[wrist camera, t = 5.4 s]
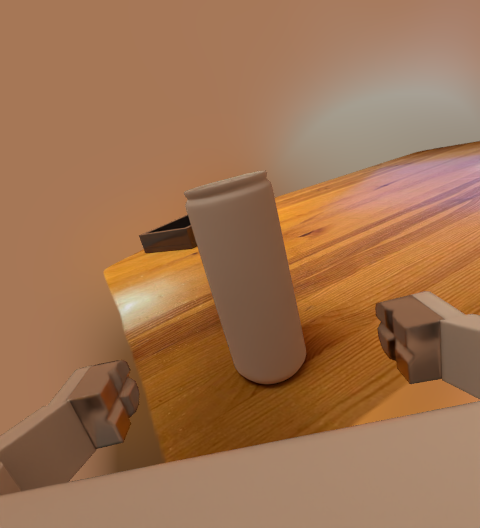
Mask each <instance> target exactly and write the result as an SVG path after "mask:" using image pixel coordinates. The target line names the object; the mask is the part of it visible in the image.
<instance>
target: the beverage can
mask: <svg viewBox="0 0 480 528" xmlns="http://www.w3.org/2000/svg"><path fill="white" fill-rule="evenodd" d="M266 175H267V172H266V171H258V172H254V173H249V174H245V175H241V176H237V177H233V178H229V179H225V180H221V181H217V182H214V183H210V184H207V185H204V186H200V187H197V188H194V189H190V190H187V191H185V192H184V195H185V196H186V197H187V199H188V200H187V202H186V210H187V213H188V217H189V220H190V223H191V226H192V230H193V233H194V236H195V240H196V243H197V246H198V249H199V253H200V256H201V259H202V262H203V266H204V269H205V272H206V275H207V279H208V282H209V285H210V288H211V292H212V295H213V298H214V301H215V305H216V308H217V311H218V314H219V318H220V321H221V324H222V327H223V330H224V334H225V337H226V340H227V343H228V346H229V350H230V353H231V356H232V359H233V362H234V365H235V368H236V369H237V371H238V372H239V373H240V374H241V375H242V376H244V377H245V378H247V379H249V380H251V381H253V382H256V383H260V384H275V383H278V382H282V381H284V380H286V379H288V378H290V377H291V376H293V375H294V374H295V373H296V372H297V371H298V370H299V368H300V367H301V365H302V364H303V363H304V360H305V357H306V347H305V342H304V338H303V333H302V328H301V323H300V318H299V314H298V309H297V304H296V299H295V294H294V290H293V285H292V280H291V275H290V270H289V266H288V261H287V256H286V251H285V246H284V242H283V237H282V232H281V227H280V222H279V217H278V213H277V208H276V203H275V198H274V193H273V189H272V185H271V182H270V181H269V180H267V179H266Z"/></svg>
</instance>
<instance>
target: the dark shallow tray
mask: <svg viewBox="0 0 480 528" xmlns="http://www.w3.org/2000/svg"><path fill="white" fill-rule="evenodd" d="M139 237H140V240H141V242H142V245H143V248H144V251H145V253H152V252H162V251H172V250H182V249H192V248H194V247H196V246H197V243H196V240H195V236H194V233H193V230H192V226H191V223H190V220H189V217H188V215H185V216H183V217H181V218H178V219H176V220H174V221H171V222H169V223H167V224H164V225H162V226H160V227H157V228H155V229H153V230H151V231H148V232H146V233H144V234H141V235H139Z"/></svg>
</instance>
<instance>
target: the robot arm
mask: <svg viewBox="0 0 480 528" xmlns="http://www.w3.org/2000/svg"><path fill="white" fill-rule="evenodd" d="M375 310H376V316H377V318H378V319H379V320H380V321H381V323H380V325H379V327H378V328H377V329H378V336H379V340H380V343H381V346H382V348H383V350H384V352H385V353H386V355H387V356H388V357H389V358H390V359H392V360H395V361H396V362H397V369H398V370H399V371H400V372H401V374H402V375H403V376H404V377H405V379H406V380H407V381H408V382H409V384H414V383H420V382H425V381H431V380H437V379H442V380H443V381H445V382H447V383H449V384H451V385H453V386H455V387H457V388H459V389H461V390H463V391H465V392H467V393H469V394H471V395H473V396H474V397H476V398H478V399H480V315H475V314H469V315H465V314H463V313H462V312H460V311H459V310H457V309H456V308H454V307H453V306H451V305H450V304H448V303H447V302H445V301H443V300H442V299H440V298H439V297H437V296H436V295H434V294H433V293H431V292H429V291H423V292H420V293H416V294H412V295H408V296H404V297H400V298H396V299H392V300H388V301H384V302H380V303H377V304H376V308H375ZM129 373H130V368H129V366H128V364H127V362H126V361H124V360H117V361H113V362H108V363H103V364H98V365H94V366H88V367H83V368H80V369H77V370H75V371H74V373H73V374H72V375H71V376H70V378H69V379H68V380H67V381H66V383H65V384H64V385H63V387H62V388H61V389H60V390H59V392H58V393H57V394H56V395H55V397H54V398H53V399H52V401H51V402H50V403H49V404H48V405H47V406H43V407H41V408H40V409H38V410H37V411H35V412H34V413H33V414H31V415H30V416H28V417H27V418H25V419H24V420H22V421H21V422H20V423H18V424H17V425H15V426H14V427H12V428H11V429H9V430H8V431H7V432H5V433H4V434H2V435H1V436H0V528H480V401H478V402H473V403H468V404H463V405H458V406H453V407H447V408H442V409H437V410H432V411H427V412H422V413H417V414H412V415H407V416H402V417H397V418H392V419H387V420H381V421H376V422H372V423H366V424H362V425H356V426H351V427H346V428H341V429H336V430H331V431H326V432H321V433H315V434H310V435H305V436H300V437H295V438H290V439H285V440H280V441H275V442H270V443H265V444H260V445H255V446H250V447H245V448H239V449H234V450H229V451H224V452H219V453H214V454H209V455H204V456H199V457H194V458H189V459H184V460H178V461H173V462H168V463H163V464H158V465H153V466H148V467H143V468H138V469H133V470H128V471H122V472H117V473H113V474H107V475H102V476H97V477H92V478H87V479H82V480H77V481H72V482H69V481H70V479H71V478H72V477H73V476H74V475H75V474H76V473H77V471H78V470H79V469H80V468H81V467H82V466H83V465H84V463H85V462H86V461H87V460H88V459H89V458H90V457H91V456H92V454H93V453H94V452H95V451H96V449H98V448H102V447H107V446H111V445H114V444H119V443H123V442H124V440H125V437H126V435H127V432H128V430H129V428H130V425H131V422H130V420H129V418H130V417H131V416H132V415H133V414H134V413H135V412H136V410H137V408H138V405H139V390H138V386H137V384H136V381H135V380H133V379H131V378H130V377H129Z"/></svg>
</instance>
